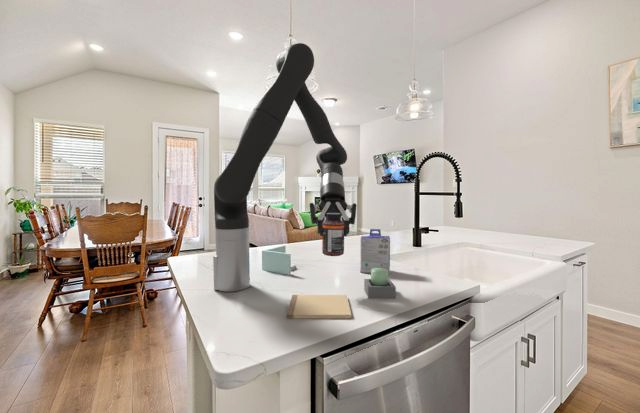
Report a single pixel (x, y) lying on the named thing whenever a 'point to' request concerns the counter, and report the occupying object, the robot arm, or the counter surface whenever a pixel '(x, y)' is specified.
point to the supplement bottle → (333, 235)
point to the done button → (379, 276)
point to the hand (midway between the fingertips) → (333, 234)
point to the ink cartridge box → (375, 251)
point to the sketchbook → (319, 306)
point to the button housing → (379, 290)
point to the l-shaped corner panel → (277, 260)
